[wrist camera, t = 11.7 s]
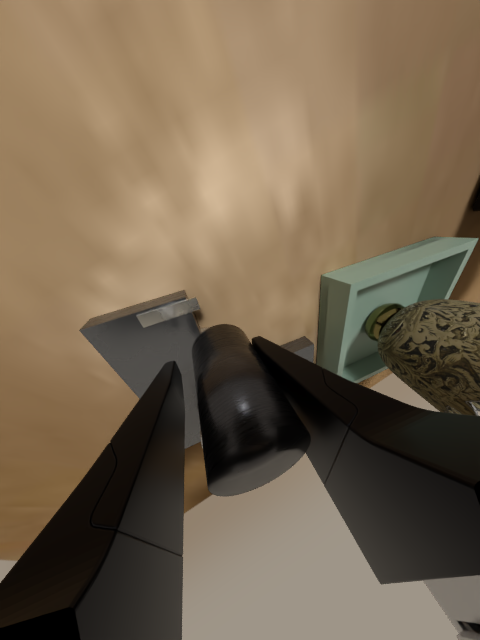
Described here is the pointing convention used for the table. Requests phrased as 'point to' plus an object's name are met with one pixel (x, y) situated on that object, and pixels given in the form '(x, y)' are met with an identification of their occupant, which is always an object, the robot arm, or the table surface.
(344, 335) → the tray
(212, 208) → the table surface
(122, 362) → the grey l-bracket
